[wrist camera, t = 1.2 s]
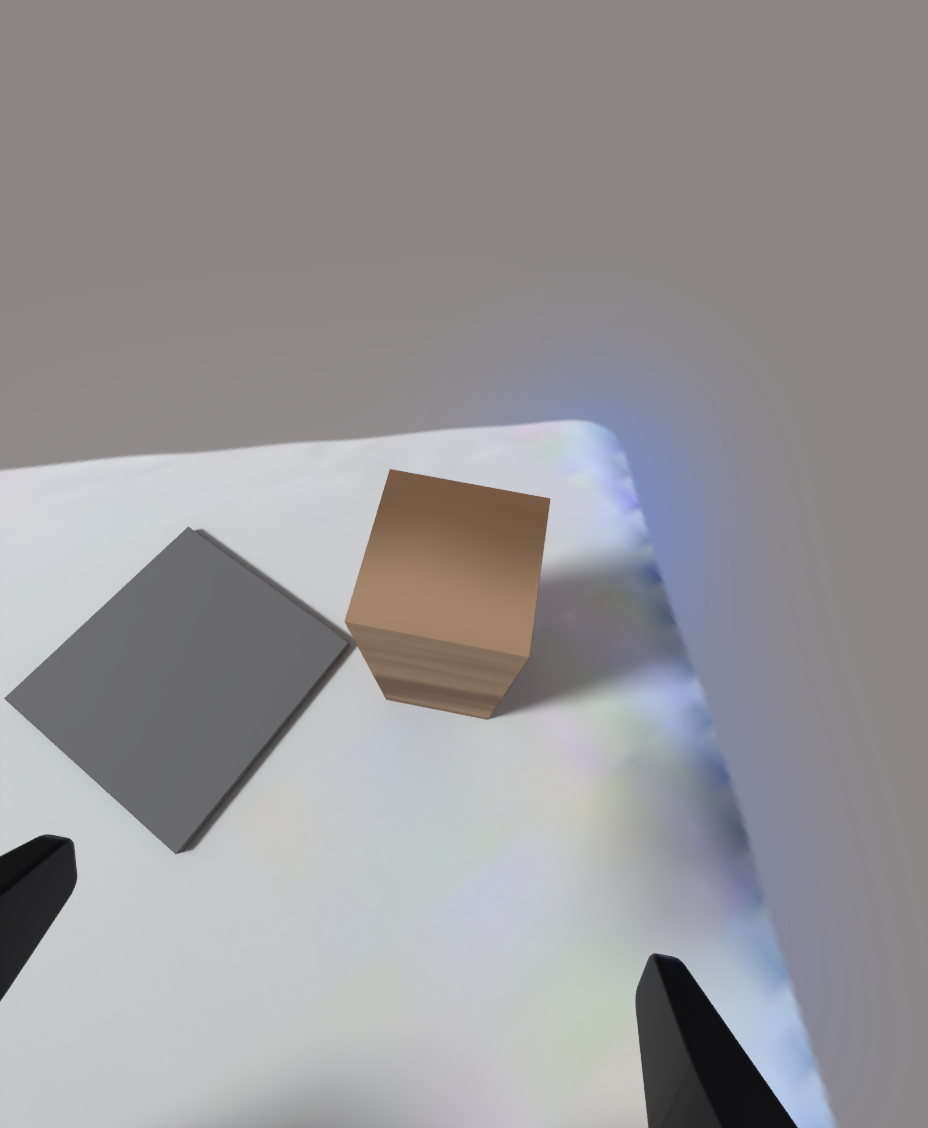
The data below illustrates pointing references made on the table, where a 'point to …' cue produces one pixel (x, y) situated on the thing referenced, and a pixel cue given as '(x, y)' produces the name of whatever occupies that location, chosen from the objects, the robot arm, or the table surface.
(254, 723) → the mat
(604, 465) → the table surface
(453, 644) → the walnut block
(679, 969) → the robot arm
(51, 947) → the table surface
